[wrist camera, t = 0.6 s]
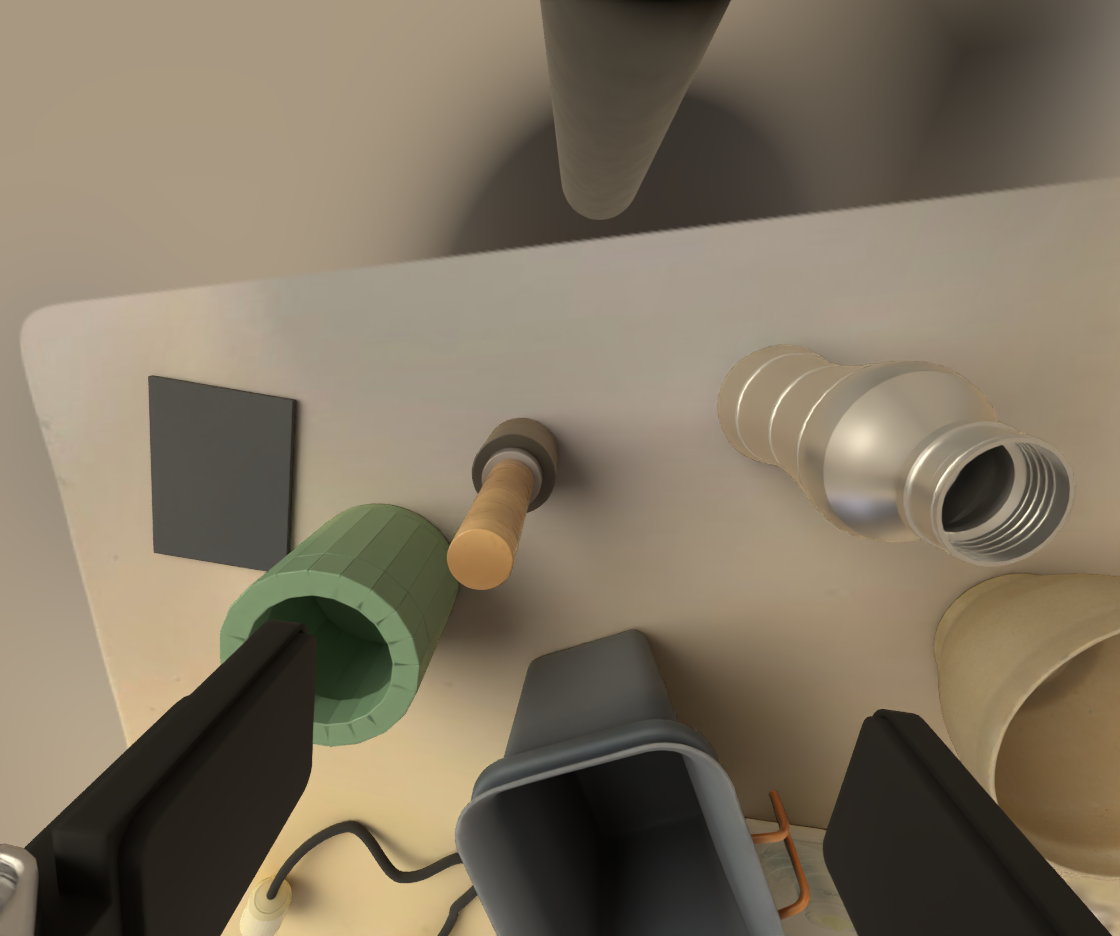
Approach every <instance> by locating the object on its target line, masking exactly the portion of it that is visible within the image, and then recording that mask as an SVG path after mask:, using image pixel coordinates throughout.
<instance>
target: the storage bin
mask: <svg viewBox="0 0 1120 936" xmlns="http://www.w3.org/2000/svg"><path fill="white" fill-rule="evenodd" d="M769 797H770V800H771V802H772V806H773V809H774V813H775V816H776V819H777V822H778V825H779V830H778V831H777V832H770V833H761V834H750V831H749V829H748V826H747V823H746V821H745V818H744V815H743V813H742V809H741V806H740V803H739V800H738V797H737V794H736V791H735V788H734V786H733V784H732V782H731V779H730V777H729V775H728V774H727V773H726V771H725V770H724V769H723V767H722V766H721V765H720V764H719V762H718V759H717V756H716V754H715V751H714V749H713V748H712V746H711V744H710V743H709V742H708V740H707V739H706V738H705V737H704V736H703V735H702V734H700V733H699V732H698V731H696V730H695V729H693V728H691V727H689V726H687V725H685V724H682V723H680V722H679V720H678V718H677V715H676V713H675V710H674V708H673V705H672V703H671V700H670V697H669V695H668V692H667V690H666V687H665V685H664V682H663V679H662V677H661V674H660V672H659V669H658V666H657V664H656V661H655V658H654V655H653V653H652V650H651V647H650V645H649V642H648V640H647V638H646V636H645V635H644V634H643V633H642V632H639V631H637V630H630V631H625V632H622V633H619V634H616V635H613V636H609V637H606V638H603V639H600V640H596V641H593V642H590V643H587V644H583V645H580V646H577V647H573V648H570V649H567V650H563V651H560V652H556V653H553V654H549V655H546V656H543V657H540V658H537V659H535V660H534V661H532V662H531V664H530V666H529V668H528V671H527V674H526V678H525V682H524V685H523V689H522V693H521V696H520V700H519V704H518V708H517V711H516V715H515V719H514V722H513V726H512V729H511V733H510V737H509V740H508V744H507V748H506V751H505V755H504V758H503V759H500V760H498V761H496V762H494V763H493V764H491V765H490V766H488V767H487V768H486V769H485V770H484V771H483V772H482V773H481V774H480V776H479V777H478V779H477V781H476V783H475V785H474V789H473V793H472V798H471V802H469V803H468V804H467V806H466V807H465V808H464V809H463V810H462V812H461V814H460V816H459V818H458V821H457V824H456V829H455V842H456V846H457V850H458V853H459V855H460V858H461V860H462V862H463V864H464V866H465V868H466V870H467V873H468V875H469V877H470V879H471V881H472V884H473V886H474V888H475V890H476V892H477V894H478V896H479V899H480V901H481V903H482V905H483V907H484V909H485V911H486V913H487V915H488V917H489V920H490V922H491V924H492V926H493V928H494V930H495V932H496V934H497V936H786V935H785V932H784V929H783V926H782V923H781V920H783V919H786V918H788V917H790V916H793V915H795V914H797V913H800V912H802V911H803V910H804V909H805V908H806V907H807V905H808V903H809V900H810V893H809V886H808V883H807V880H806V877H805V875H804V872H803V869H802V866H801V864H800V861H799V858H798V855H797V852H796V849H795V846H794V843H793V841H792V838H791V835H790V832H789V822H788V819H787V817H786V814H785V811H784V809H783V806H782V803H781V801H780V798H779V796H778V794H777V792H776V791H771V792H770V793H769ZM781 840H784V843H785V847H786V849H787V852H788V854H789V857H790V860H791V863H792V866H793V869H794V871H795V875H796V878H797V881H798V883H799V887H800V895H799V898H798V900H797V901H796V902H795V903H794V904H792V905H790V906H787V907H785V908H782V909H779V910H777V907H776V905H775V902H774V899H773V896H772V893H771V890H770V887H769V884H768V882H767V879H766V876H765V873H764V870H763V867H762V864H761V861H760V858H759V856H758V853H757V850H756V848H755V845H754V844H764V843H774V842H779V841H781Z"/></svg>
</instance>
